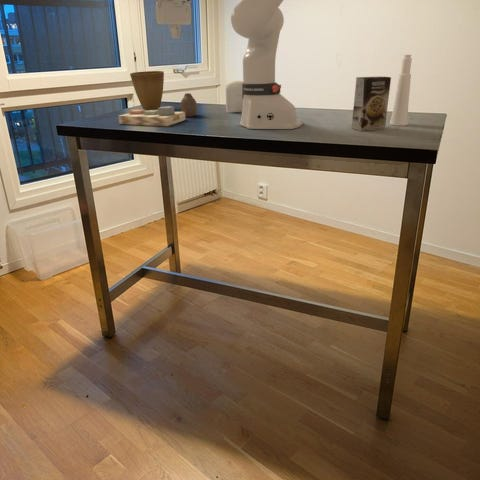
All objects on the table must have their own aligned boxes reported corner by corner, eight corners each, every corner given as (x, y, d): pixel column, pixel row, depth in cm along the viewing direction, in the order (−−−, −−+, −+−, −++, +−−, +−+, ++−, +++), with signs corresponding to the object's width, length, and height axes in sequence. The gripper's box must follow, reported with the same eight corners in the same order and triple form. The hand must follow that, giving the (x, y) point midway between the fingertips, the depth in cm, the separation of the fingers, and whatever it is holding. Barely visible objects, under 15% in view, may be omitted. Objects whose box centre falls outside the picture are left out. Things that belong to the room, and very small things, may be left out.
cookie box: (361, 131, 137) (366, 78, 130) (351, 128, 143) (355, 76, 136) (385, 129, 139) (392, 76, 133) (374, 125, 145) (380, 75, 138)
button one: (146, 117, 168) (145, 109, 167) (140, 119, 164) (139, 111, 163) (137, 117, 169) (136, 109, 168) (130, 119, 166) (129, 110, 164)
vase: (195, 117, 172) (193, 94, 168) (178, 117, 173) (176, 94, 170) (199, 114, 178) (198, 92, 174) (184, 114, 180) (182, 92, 176)
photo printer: (228, 113, 179) (226, 82, 173) (225, 112, 182) (223, 81, 177) (251, 111, 181) (250, 80, 176) (247, 110, 185) (247, 80, 180)
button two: (174, 114, 163) (173, 106, 161) (168, 116, 159) (168, 107, 158) (164, 114, 164) (163, 105, 163) (158, 116, 161) (157, 107, 159)
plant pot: (145, 106, 205) (141, 71, 198) (172, 107, 200) (169, 70, 193) (128, 111, 192) (123, 73, 185) (157, 112, 187) (153, 73, 181)
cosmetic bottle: (398, 126, 143) (407, 55, 133) (385, 123, 148) (393, 55, 138) (411, 124, 145) (421, 54, 136) (398, 122, 150) (407, 54, 141)
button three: (160, 118, 166) (159, 109, 164) (154, 120, 162) (153, 111, 161) (150, 117, 167) (150, 109, 166) (144, 119, 164) (143, 111, 162)
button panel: (185, 119, 167) (184, 111, 166) (167, 126, 156) (166, 117, 154) (140, 117, 175) (139, 110, 173) (119, 123, 163) (118, 115, 162)
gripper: (165, -7, 145) (169, 38, 151) (193, -3, 162) (195, 37, 168) (149, -6, 147) (153, 38, 153) (178, -2, 164) (181, 38, 170)
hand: (175, 38), depth 160 cm, fingers closed
